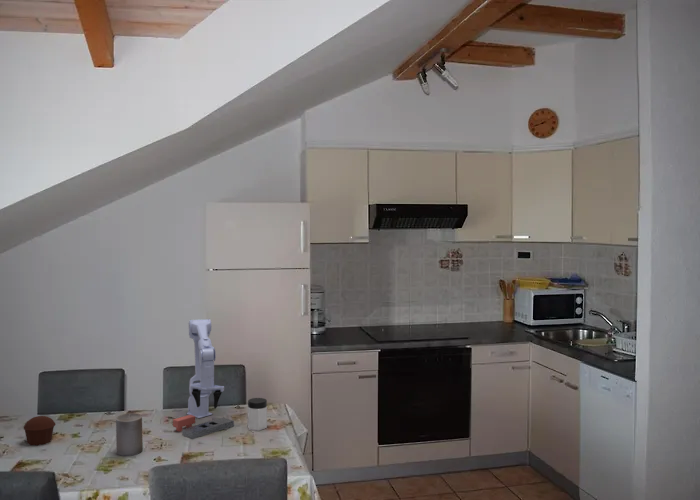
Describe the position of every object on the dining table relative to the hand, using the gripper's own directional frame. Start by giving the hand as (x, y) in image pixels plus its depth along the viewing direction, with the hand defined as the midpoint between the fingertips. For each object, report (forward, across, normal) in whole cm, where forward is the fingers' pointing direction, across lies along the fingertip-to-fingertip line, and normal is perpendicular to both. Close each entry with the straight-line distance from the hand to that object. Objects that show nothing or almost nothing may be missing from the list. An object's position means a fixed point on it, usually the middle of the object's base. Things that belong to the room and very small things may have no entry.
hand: (207, 407), depth 280 cm
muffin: (+10, -61, -26) cm, 67 cm away
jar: (+10, +21, +6) cm, 24 cm away
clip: (+10, -9, -2) cm, 14 cm away
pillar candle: (+10, -21, -30) cm, 38 cm away
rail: (+10, +1, -2) cm, 10 cm away
